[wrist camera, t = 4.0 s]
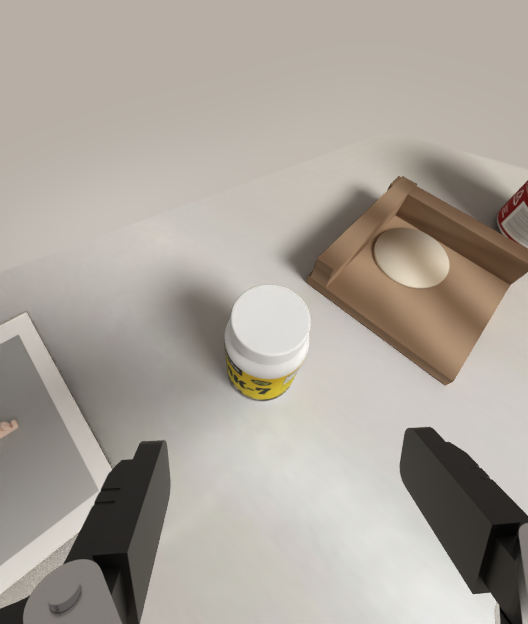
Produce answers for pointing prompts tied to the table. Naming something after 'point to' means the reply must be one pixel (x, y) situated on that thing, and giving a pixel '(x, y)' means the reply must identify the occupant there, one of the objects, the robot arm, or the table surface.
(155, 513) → the robot arm
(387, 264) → the wooden tray
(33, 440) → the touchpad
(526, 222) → the soda can
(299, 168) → the table surface
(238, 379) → the supplement bottle
